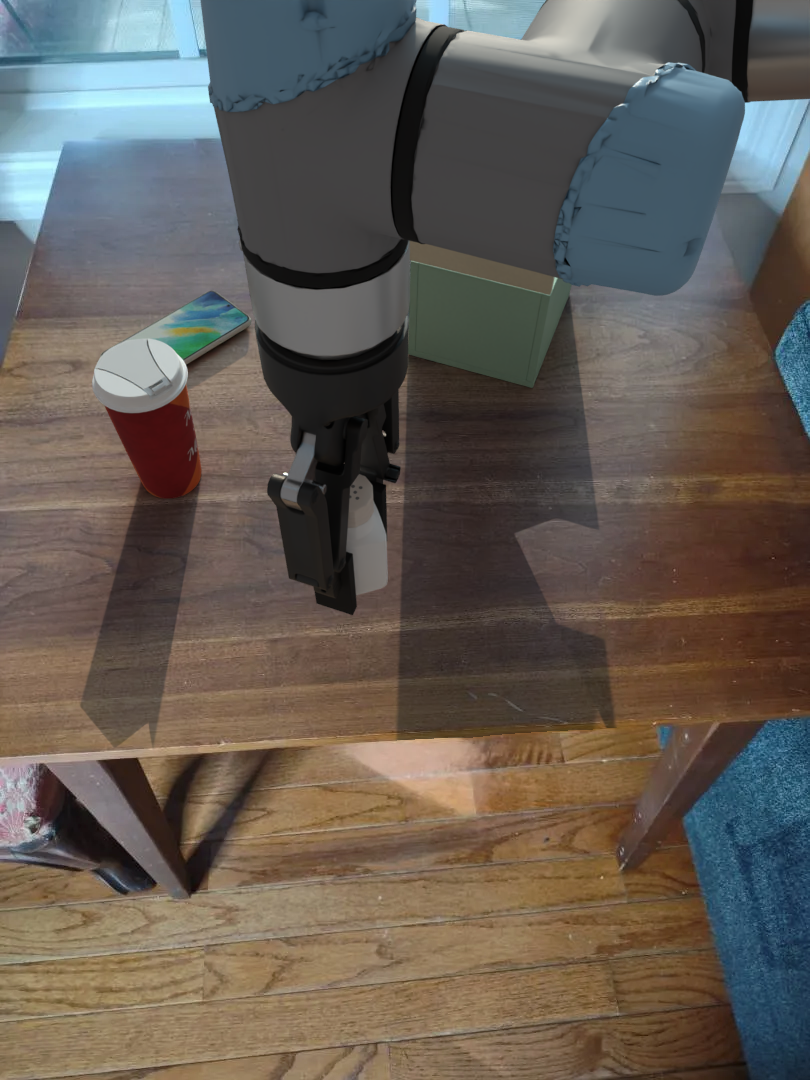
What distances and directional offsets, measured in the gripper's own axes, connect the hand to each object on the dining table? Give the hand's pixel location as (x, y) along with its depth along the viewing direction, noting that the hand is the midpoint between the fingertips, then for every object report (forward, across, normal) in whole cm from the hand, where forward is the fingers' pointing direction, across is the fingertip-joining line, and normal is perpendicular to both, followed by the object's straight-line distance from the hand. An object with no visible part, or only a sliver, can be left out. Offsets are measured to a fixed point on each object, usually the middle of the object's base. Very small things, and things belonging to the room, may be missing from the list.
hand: (352, 570), depth 61 cm
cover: (-8, -33, -1) cm, 34 cm away
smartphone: (+12, -27, -32) cm, 43 cm away
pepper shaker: (0, 0, 0) cm, 1 cm away
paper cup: (+12, -11, -24) cm, 29 cm away
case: (+12, -42, -2) cm, 44 cm away
